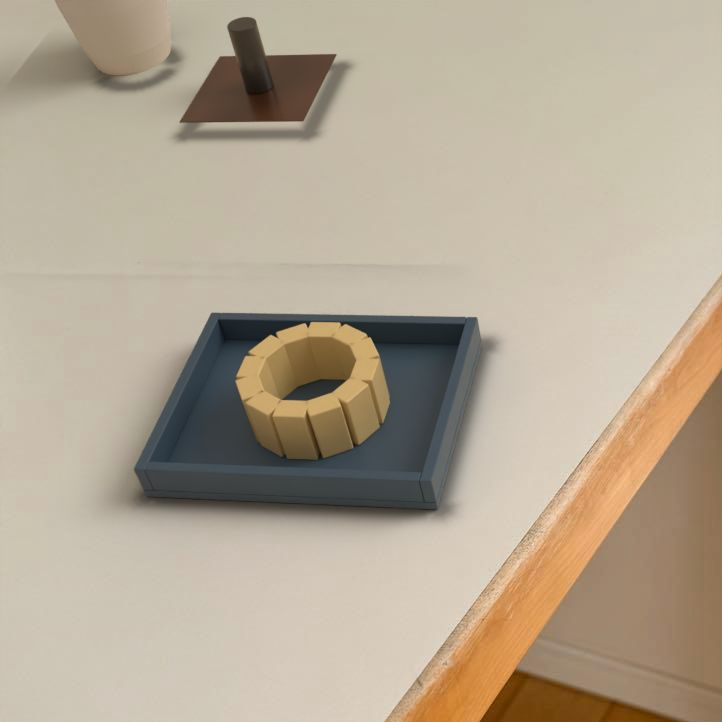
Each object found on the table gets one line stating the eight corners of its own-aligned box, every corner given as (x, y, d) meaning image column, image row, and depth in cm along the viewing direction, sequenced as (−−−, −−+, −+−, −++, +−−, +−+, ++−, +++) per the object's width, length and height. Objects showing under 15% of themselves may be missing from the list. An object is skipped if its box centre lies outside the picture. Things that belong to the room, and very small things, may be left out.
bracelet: (235, 457, 64) (218, 414, 62) (275, 363, 68) (260, 320, 66) (370, 462, 63) (358, 418, 60) (402, 366, 67) (391, 323, 65)
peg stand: (183, 135, 86) (156, 58, 82) (223, 68, 92) (200, -7, 88) (306, 134, 85) (286, 56, 81) (340, 66, 91) (322, -10, 86)
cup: (201, 36, 96) (158, -99, 88) (178, 91, 91) (131, -48, 83) (99, 45, 97) (48, -88, 89) (71, 100, 91) (14, -37, 84)
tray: (146, 496, 63) (132, 469, 62) (221, 339, 71) (210, 311, 70) (438, 510, 61) (431, 481, 59) (482, 345, 68) (477, 316, 67)
